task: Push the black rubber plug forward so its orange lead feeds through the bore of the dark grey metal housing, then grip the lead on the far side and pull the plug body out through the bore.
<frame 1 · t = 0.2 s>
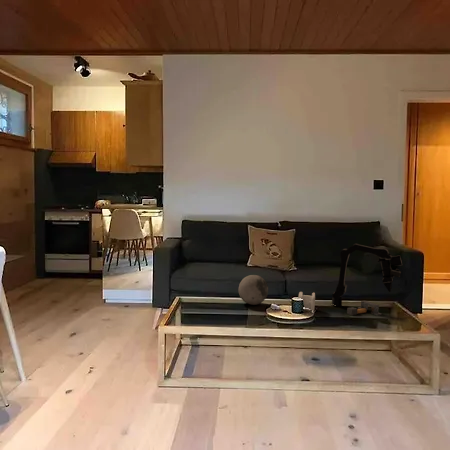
hand: (390, 290, 352), 15 cm above the table, tool pointing down, fingers open, 9 cm apart
plug: (352, 314, 346), on the table
housing: (369, 311, 354), on the table
cable organizer: (305, 311, 347), on the table
moon model: (252, 304, 358), on the table
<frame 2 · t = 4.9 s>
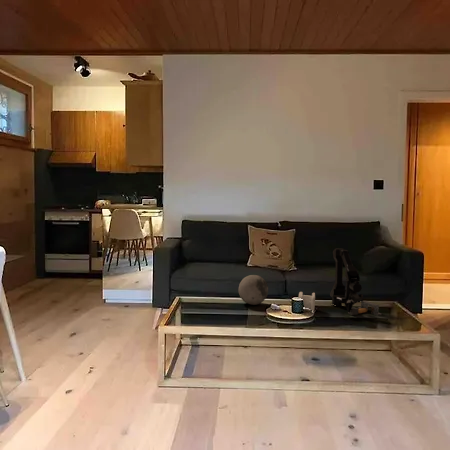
hand: (348, 312, 345), 2 cm above the table, tool pointing down, fingers closed
plug: (353, 313, 347), on the table, touching gripper
everything else where it was.
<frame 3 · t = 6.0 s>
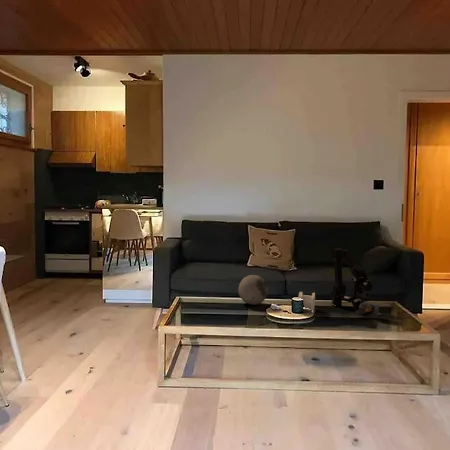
hand: (355, 311, 348), 2 cm above the table, tool pointing down, fingers closed
plug: (360, 312, 350), on the table, touching gripper
everything else where it was.
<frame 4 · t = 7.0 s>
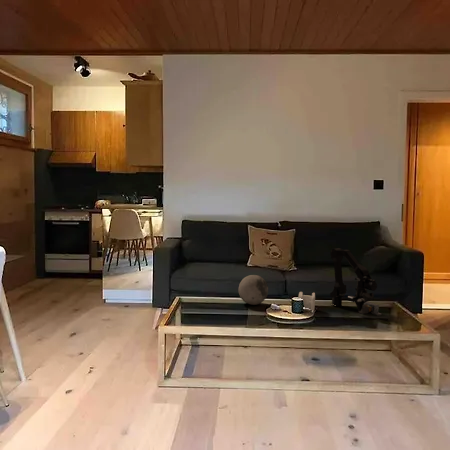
hand: (359, 310, 349), 2 cm above the table, tool pointing down, fingers closed
plug: (363, 312, 352), on the table, touching gripper
everything else where it was.
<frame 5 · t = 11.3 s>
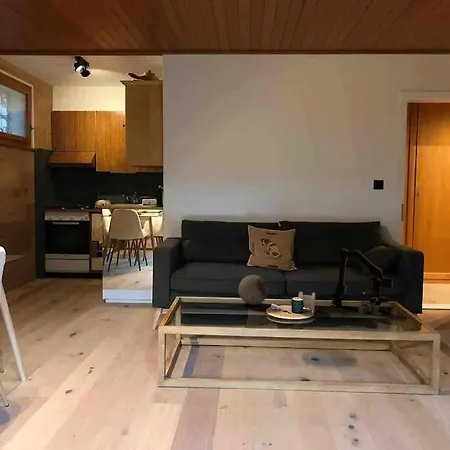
hand: (374, 309, 356), 1 cm above the table, tool pointing down, fingers closed on plug, 3 cm apart
plug: (363, 312, 352), on the table, touching gripper
everything else where it was.
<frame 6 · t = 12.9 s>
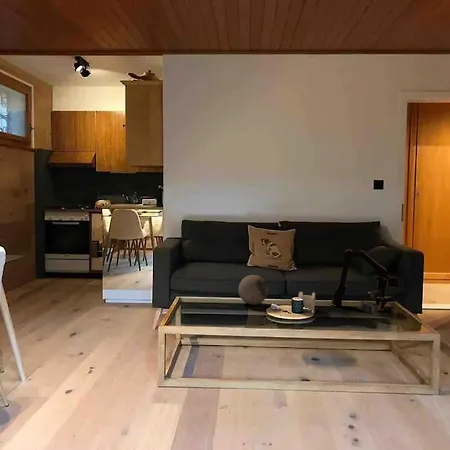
hand: (379, 308, 359), 1 cm above the table, tool pointing down, fingers closed on plug, 3 cm apart
plug: (369, 311, 354), on the table, touching gripper
everything else where it was.
when the fingers open (1 cm above the table, at t = 14.2 s): plug stays where it is, on the table.
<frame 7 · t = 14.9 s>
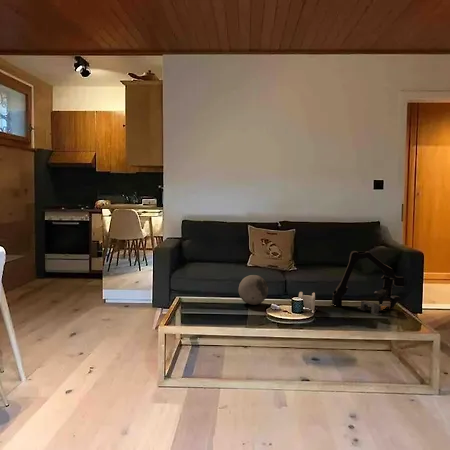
hand: (385, 308, 362), 1 cm above the table, tool pointing down, fingers open, 9 cm apart
plug: (375, 311, 357), on the table
everything else where it was.
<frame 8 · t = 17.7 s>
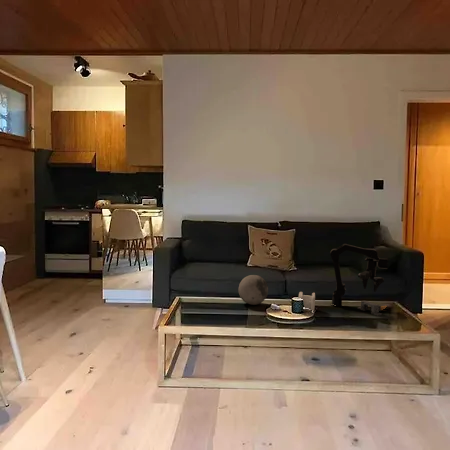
hand: (369, 290, 361), 13 cm above the table, tool pointing down, fingers open, 9 cm apart
nothing on the table moved.
at the end: plug inside the target area (2.8 cm from its centre), on the table; the gripper is holding nothing; plug tilted 0° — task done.
